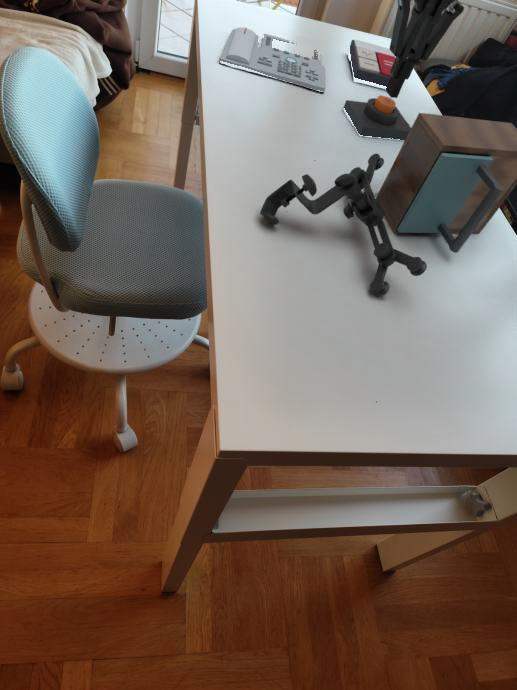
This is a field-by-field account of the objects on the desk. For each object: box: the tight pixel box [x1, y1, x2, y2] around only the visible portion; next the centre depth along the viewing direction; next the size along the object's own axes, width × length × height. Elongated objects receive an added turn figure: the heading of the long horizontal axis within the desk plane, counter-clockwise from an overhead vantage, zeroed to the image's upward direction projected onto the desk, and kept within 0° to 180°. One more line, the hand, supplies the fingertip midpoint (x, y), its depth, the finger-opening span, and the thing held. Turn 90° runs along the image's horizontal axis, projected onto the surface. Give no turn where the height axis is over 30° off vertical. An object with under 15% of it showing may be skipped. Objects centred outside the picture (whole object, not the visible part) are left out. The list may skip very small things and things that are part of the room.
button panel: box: [349, 39, 396, 87], centre depth 117 cm, size 11×4×15 cm
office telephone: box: [218, 27, 327, 93], centre depth 109 cm, size 23×3×20 cm
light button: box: [374, 95, 397, 114], centre depth 99 cm, size 4×4×2 cm
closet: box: [375, 112, 517, 235], centre depth 80 cm, size 18×8×16 cm, turn 104°
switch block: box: [343, 97, 412, 141], centre depth 101 cm, size 12×10×4 cm
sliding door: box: [397, 153, 504, 254], centre depth 74 cm, size 9×7×14 cm
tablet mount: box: [259, 153, 428, 297], centre depth 73 cm, size 27×14×17 cm
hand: (391, 93), depth 97 cm, fingers closed
